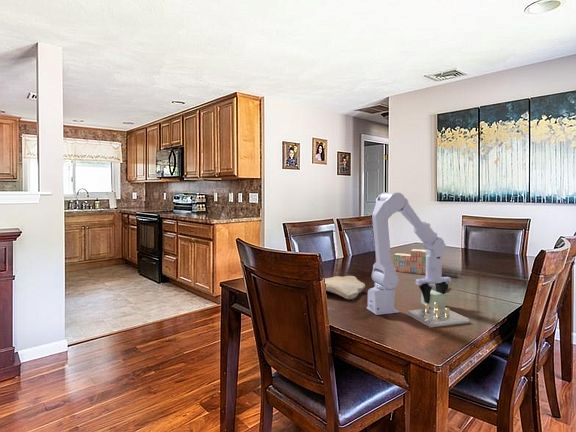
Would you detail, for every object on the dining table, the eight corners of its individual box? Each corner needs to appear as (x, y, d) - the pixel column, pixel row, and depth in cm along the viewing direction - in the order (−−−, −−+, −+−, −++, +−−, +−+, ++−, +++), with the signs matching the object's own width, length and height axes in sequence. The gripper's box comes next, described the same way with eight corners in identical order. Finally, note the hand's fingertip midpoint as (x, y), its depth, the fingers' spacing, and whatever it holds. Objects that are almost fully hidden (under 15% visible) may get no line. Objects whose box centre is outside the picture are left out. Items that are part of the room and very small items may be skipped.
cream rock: (321, 285, 180) (298, 291, 164) (322, 270, 180) (299, 274, 164) (368, 295, 166) (349, 302, 150) (369, 278, 166) (350, 284, 150)
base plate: (430, 327, 122) (430, 314, 122) (407, 314, 135) (407, 302, 134) (468, 322, 126) (468, 309, 126) (442, 310, 139) (443, 298, 138)
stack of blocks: (393, 271, 206) (393, 249, 205) (395, 269, 212) (396, 247, 211) (434, 275, 196) (434, 252, 195) (436, 273, 201) (436, 250, 200)
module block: (434, 309, 140) (434, 296, 140) (421, 303, 148) (421, 290, 148) (445, 308, 142) (445, 295, 141) (431, 302, 149) (432, 289, 149)
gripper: (423, 270, 138) (423, 306, 139) (456, 268, 142) (455, 303, 143) (412, 267, 145) (412, 301, 146) (444, 264, 149) (443, 298, 150)
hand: (432, 302), depth 145 cm, fingers closed on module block, 5 cm apart
